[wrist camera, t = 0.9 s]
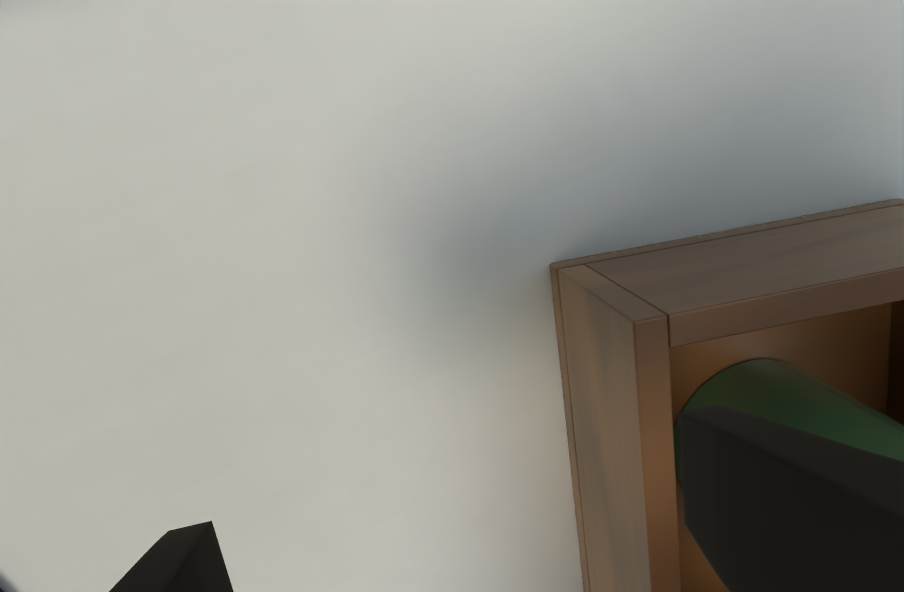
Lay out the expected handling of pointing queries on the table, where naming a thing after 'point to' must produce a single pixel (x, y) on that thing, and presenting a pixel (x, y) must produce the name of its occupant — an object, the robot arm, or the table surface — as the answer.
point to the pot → (797, 407)
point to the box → (709, 363)
